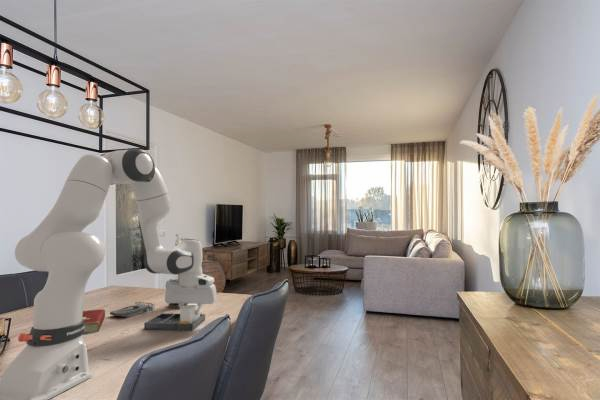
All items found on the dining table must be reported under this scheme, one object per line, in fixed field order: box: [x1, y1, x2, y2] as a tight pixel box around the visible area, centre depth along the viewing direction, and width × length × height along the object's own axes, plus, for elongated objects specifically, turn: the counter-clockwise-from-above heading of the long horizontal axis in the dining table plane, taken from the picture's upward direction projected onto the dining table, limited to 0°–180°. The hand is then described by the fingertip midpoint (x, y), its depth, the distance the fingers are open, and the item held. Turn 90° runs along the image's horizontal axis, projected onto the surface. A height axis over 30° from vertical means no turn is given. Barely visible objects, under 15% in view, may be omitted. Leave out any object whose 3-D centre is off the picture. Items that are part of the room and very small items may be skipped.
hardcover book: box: [83, 308, 106, 334], centre depth 139 cm, size 12×21×4 cm, turn 24°
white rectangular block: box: [179, 304, 200, 323], centre depth 138 cm, size 10×4×6 cm, turn 175°
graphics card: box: [109, 301, 156, 318], centre depth 157 cm, size 17×4×12 cm
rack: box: [143, 311, 206, 332], centre depth 139 cm, size 14×19×3 cm
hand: (190, 314), depth 138 cm, fingers closed on white rectangular block, 4 cm apart
